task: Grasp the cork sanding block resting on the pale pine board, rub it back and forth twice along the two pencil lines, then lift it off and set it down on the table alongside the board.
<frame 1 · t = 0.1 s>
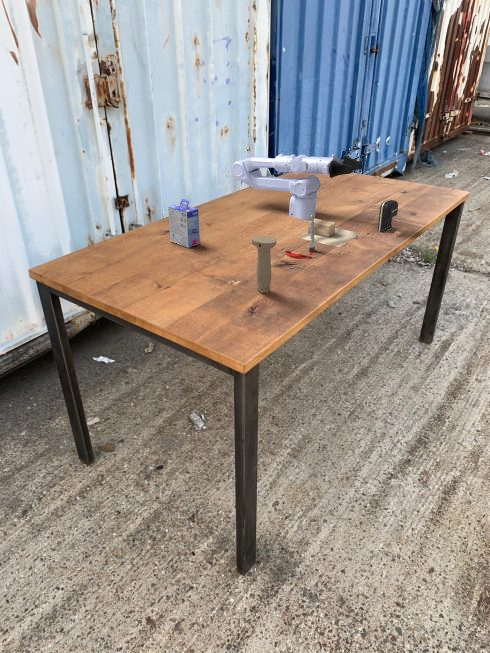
hand: (357, 167, 169), 22 cm above the table, tool horizontal, fingers open, 7 cm apart
sanding block: (321, 233, 174), point 1 cm above the table, touching pine board
battery charger: (386, 233, 176), on the table
ink cartridge box: (185, 243, 171), on the table
pine board: (328, 238, 173), on the table
handle: (263, 291, 139), on the table
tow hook: (300, 254, 162), on the table
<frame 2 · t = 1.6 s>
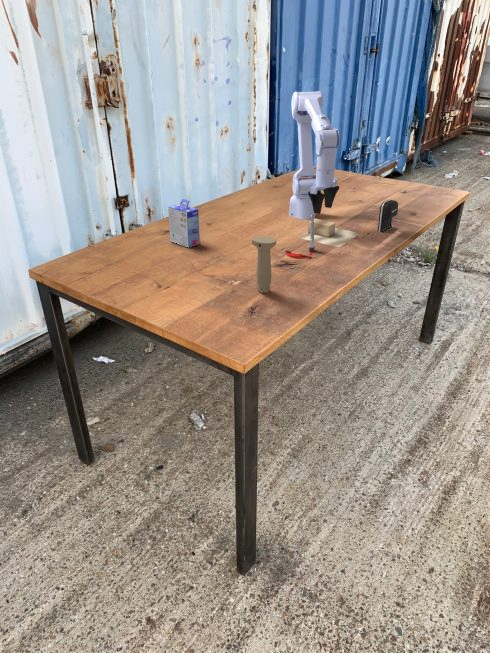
hand: (322, 210, 169), 9 cm above the table, tool pointing down, fingers open, 7 cm apart
nothing on the table moved.
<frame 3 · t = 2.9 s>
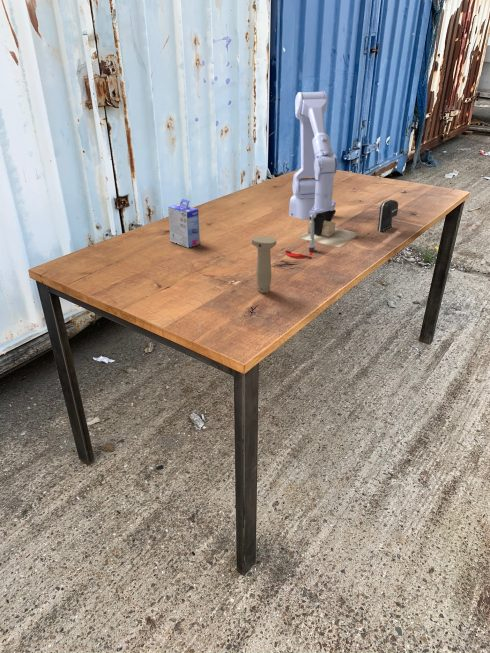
hand: (321, 232, 173), 2 cm above the table, tool pointing down, fingers closed on sanding block, 4 cm apart
sanding block: (321, 233, 174), point 1 cm above the table, touching gripper, pine board
everything else where it was.
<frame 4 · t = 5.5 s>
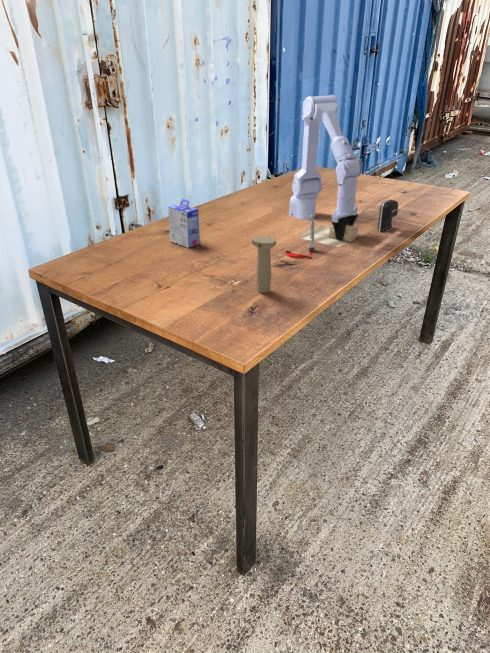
hand: (342, 237, 169), 2 cm above the table, tool pointing down, fingers closed on sanding block, 4 cm apart
sanding block: (342, 238, 169), point 1 cm above the table, touching gripper
everything else where it was.
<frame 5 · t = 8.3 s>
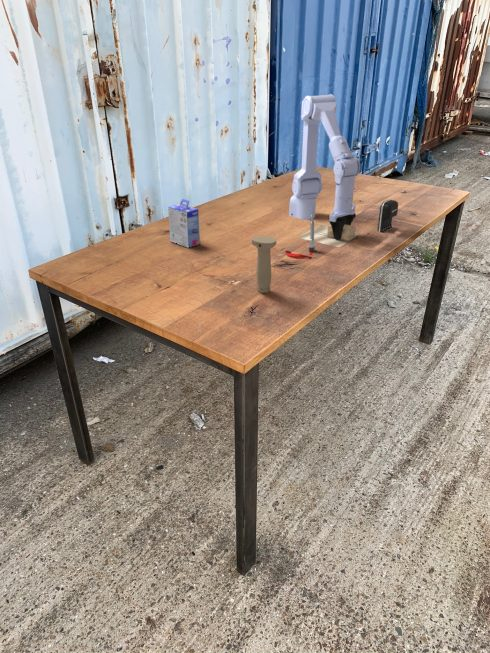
hand: (340, 236, 169), 2 cm above the table, tool pointing down, fingers closed on sanding block, 4 cm apart
sanding block: (340, 237, 170), point 1 cm above the table, touching gripper
everything else where it was.
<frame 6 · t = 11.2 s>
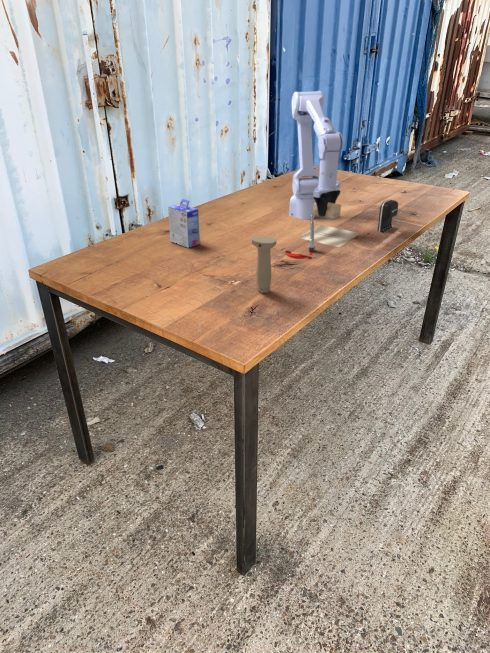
hand: (325, 213, 170), 8 cm above the table, tool pointing down, fingers closed on sanding block, 4 cm apart
sanding block: (326, 215, 170), point 8 cm above the table, touching gripper
everything else where it was.
when the fingers open (1 cm above the table, at t = 13.7 s): sanding block stays where it is, on the table.
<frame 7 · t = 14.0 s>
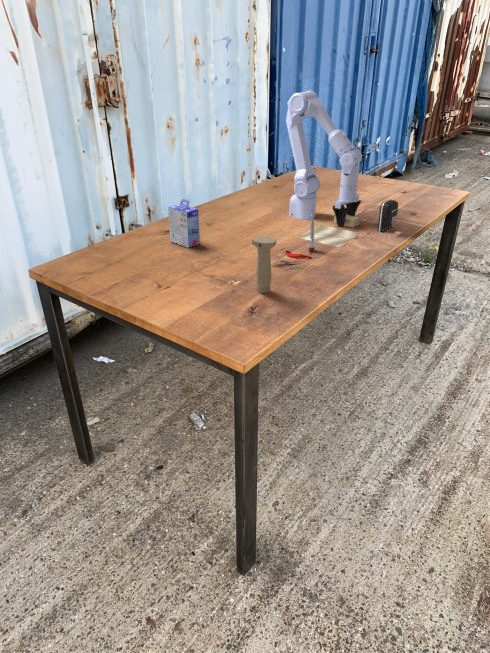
hand: (345, 223, 182), 1 cm above the table, tool pointing down, fingers open, 7 cm apart
sanding block: (346, 227, 183), on the table
everything else where it was.
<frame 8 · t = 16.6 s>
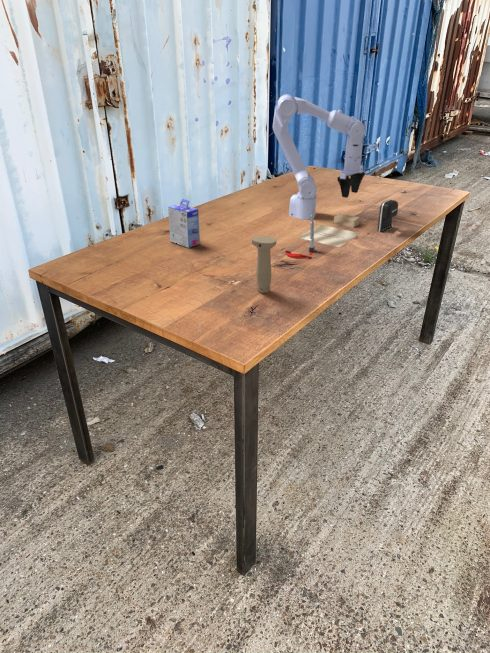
hand: (349, 194, 185), 9 cm above the table, tool pointing down, fingers open, 7 cm apart
nothing on the table moved.
at the end: sanding block inside the target area (0.5 cm from its centre), on the table; sanding block tilted 0°; the gripper is holding nothing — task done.
